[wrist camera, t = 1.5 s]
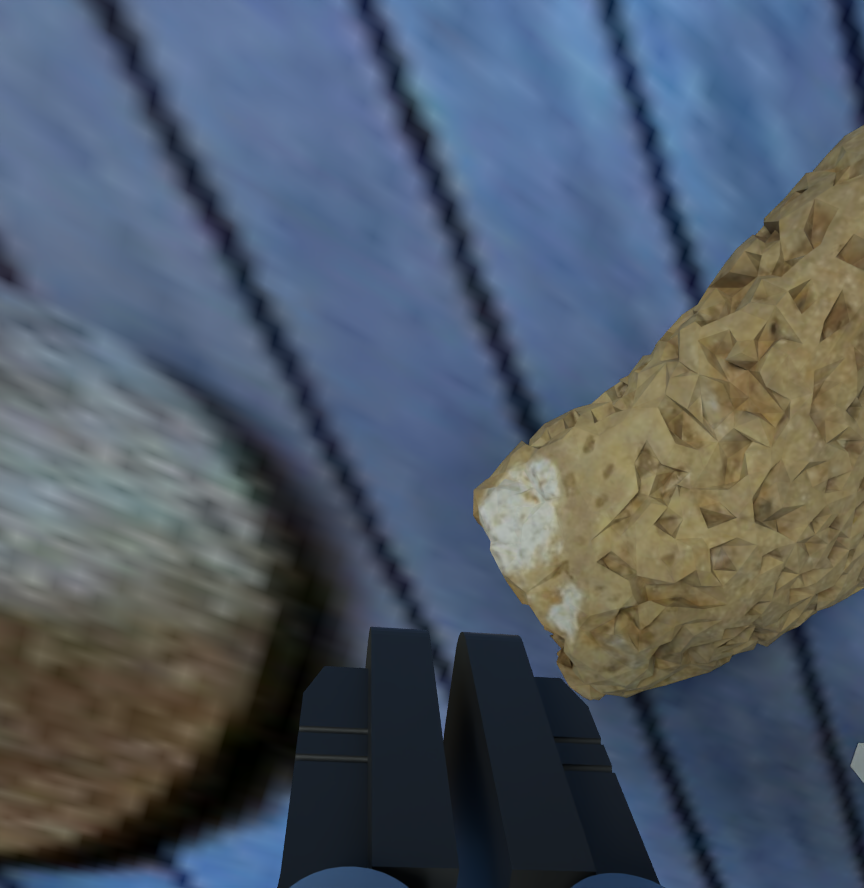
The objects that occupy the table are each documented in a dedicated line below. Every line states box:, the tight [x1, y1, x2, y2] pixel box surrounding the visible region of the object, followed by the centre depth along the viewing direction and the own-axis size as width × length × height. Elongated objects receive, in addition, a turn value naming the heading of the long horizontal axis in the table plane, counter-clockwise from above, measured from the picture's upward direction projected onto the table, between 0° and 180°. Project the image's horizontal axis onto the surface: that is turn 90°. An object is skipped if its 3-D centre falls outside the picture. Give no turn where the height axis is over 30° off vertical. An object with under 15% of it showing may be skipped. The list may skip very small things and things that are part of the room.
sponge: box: [473, 125, 864, 700], centre depth 24 cm, size 13×8×20 cm
